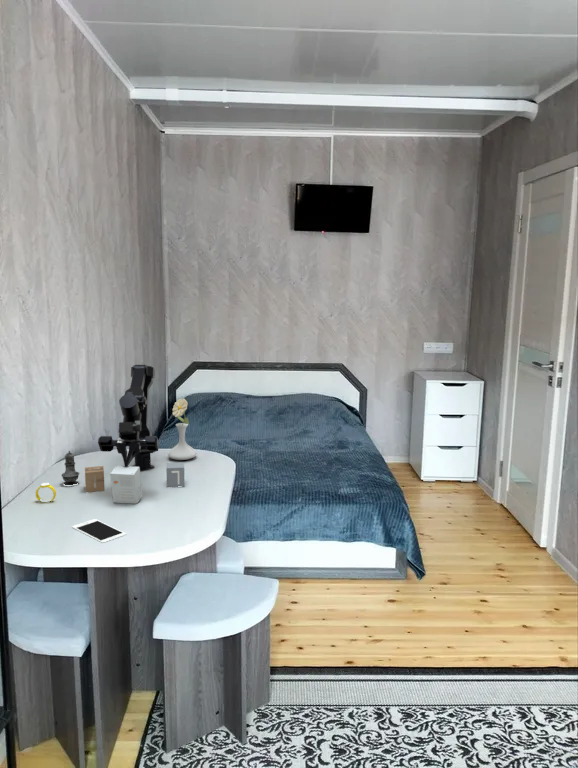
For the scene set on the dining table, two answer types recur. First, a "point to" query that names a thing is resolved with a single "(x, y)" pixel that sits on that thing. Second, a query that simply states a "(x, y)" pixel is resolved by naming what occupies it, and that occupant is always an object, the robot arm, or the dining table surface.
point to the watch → (45, 487)
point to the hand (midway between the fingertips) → (125, 466)
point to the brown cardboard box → (94, 479)
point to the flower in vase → (181, 434)
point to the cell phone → (99, 530)
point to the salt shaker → (70, 470)
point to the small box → (126, 484)
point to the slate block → (175, 474)
